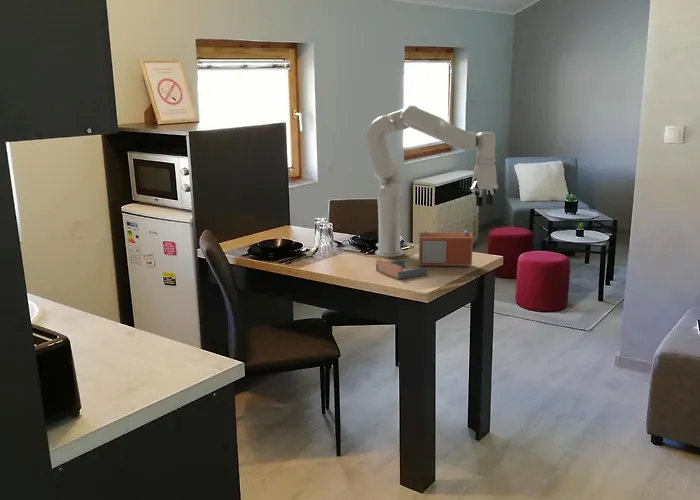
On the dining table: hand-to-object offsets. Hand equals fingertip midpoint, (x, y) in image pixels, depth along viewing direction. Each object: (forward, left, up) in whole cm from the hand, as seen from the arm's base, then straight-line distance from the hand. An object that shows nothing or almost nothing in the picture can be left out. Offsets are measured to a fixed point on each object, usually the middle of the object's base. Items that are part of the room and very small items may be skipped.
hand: (484, 204), depth 277 cm
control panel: (0, -21, -24) cm, 32 cm away
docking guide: (0, -42, -23) cm, 48 cm away
